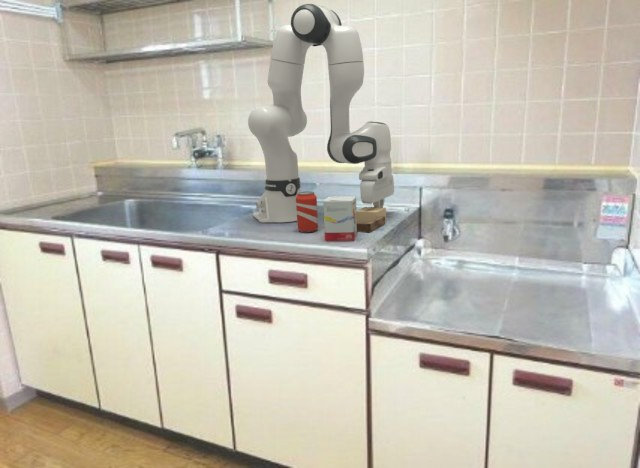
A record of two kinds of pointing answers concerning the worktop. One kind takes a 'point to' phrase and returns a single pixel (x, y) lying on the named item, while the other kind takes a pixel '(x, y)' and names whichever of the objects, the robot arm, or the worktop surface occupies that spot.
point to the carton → (369, 214)
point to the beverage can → (307, 211)
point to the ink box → (340, 218)
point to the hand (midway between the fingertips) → (379, 212)
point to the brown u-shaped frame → (371, 225)
